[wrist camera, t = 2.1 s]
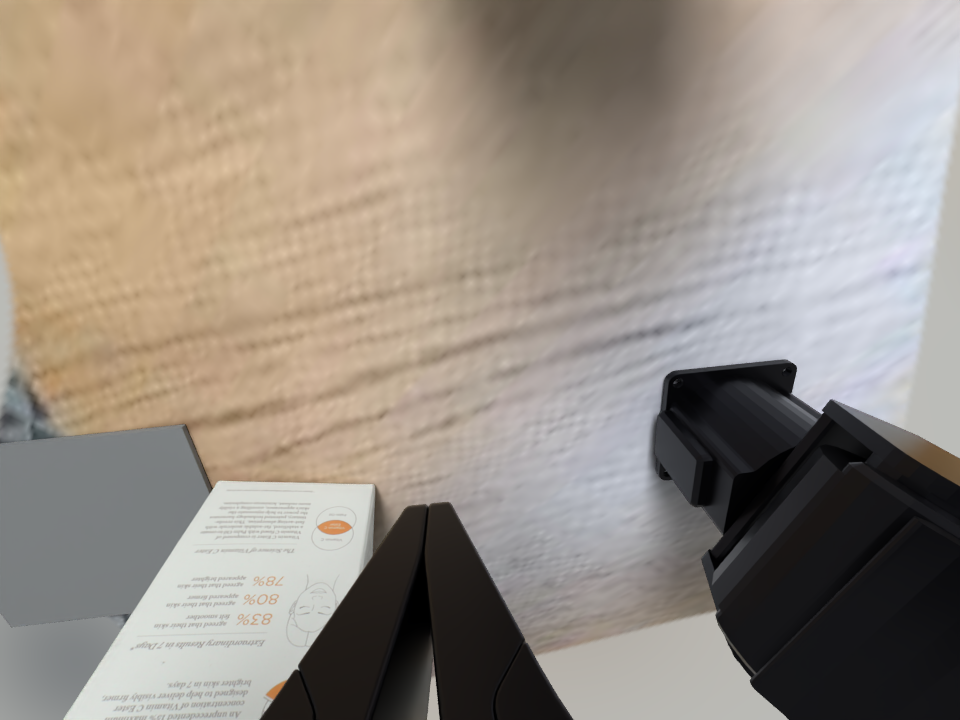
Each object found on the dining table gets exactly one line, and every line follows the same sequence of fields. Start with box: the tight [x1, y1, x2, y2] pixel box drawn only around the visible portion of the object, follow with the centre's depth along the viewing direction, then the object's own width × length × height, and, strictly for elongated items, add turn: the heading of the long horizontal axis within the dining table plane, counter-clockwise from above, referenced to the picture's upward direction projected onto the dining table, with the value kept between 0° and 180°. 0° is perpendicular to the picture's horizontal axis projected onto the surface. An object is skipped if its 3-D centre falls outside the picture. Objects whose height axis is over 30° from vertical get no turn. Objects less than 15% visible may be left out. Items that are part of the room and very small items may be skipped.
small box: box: [63, 481, 375, 720], centre depth 19 cm, size 8×6×13 cm
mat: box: [0, 424, 212, 627], centre depth 24 cm, size 14×12×1 cm
